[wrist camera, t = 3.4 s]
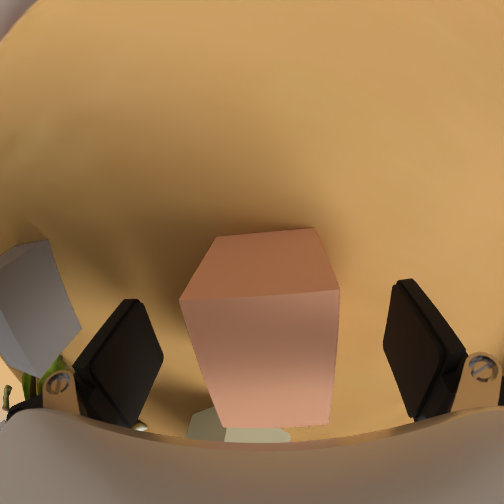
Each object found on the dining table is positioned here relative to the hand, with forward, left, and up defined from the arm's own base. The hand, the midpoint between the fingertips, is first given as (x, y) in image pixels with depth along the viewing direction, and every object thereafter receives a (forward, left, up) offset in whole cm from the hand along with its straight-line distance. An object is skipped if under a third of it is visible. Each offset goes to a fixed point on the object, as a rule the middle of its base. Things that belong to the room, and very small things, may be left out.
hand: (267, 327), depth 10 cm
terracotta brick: (0, 0, -3) cm, 3 cm away
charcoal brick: (+1, +14, -3) cm, 14 cm away
